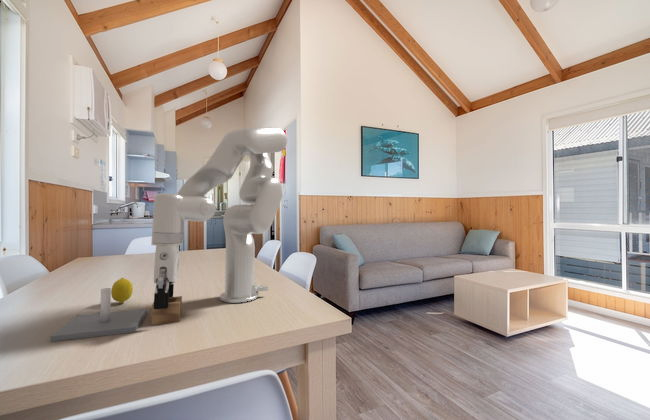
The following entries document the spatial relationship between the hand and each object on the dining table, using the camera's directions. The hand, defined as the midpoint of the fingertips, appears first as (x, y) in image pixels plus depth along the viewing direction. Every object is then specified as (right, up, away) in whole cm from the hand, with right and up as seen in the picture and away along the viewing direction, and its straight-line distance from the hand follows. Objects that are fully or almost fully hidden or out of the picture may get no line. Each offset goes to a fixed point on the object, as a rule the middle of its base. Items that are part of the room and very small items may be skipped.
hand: (163, 303), depth 78 cm
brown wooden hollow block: (0, -5, +1) cm, 5 cm away
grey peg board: (-13, -4, -4) cm, 14 cm away
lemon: (-20, -4, +13) cm, 25 cm away
